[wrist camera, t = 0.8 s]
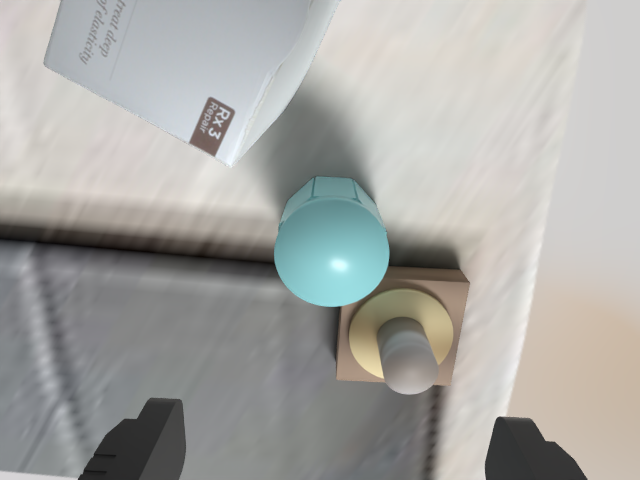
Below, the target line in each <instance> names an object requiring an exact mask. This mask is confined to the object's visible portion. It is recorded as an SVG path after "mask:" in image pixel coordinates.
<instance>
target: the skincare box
mask: <svg viewBox="0 0 640 480" xmlns="http://www.w3.org/2000/svg"><path fill="white" fill-rule="evenodd" d="M340 1H341V0H61V2H60V6H59V9H58V13H57V16H56V20H55V23H54V27H53V30H52V34H51V37H50V41H49V44H48V47H47V51H46V54H45V58H44V65H45V67H47V68H49V69H51V70H53V71H55V72H56V73H58V74H60V75H62V76H63V77H65V78H67V79H69V80H71V81H72V82H74V83H76V84H78V85H80V86H82V87H84V88H86V89H87V90H89V91H91V92H93V93H95V94H97V95H98V96H100V97H102V98H104V99H106V100H108V101H110V102H112V103H114V104H116V105H118V106H120V107H121V108H123V109H125V110H127V111H129V112H131V113H133V114H134V115H136V116H138V117H140V118H142V119H144V120H145V121H147V122H149V123H151V124H153V125H154V126H156V127H158V128H160V129H162V130H163V131H165V132H167V133H169V134H171V135H172V136H174V137H176V138H178V139H180V140H181V141H183V142H185V143H187V144H189V145H190V146H192V147H194V148H196V149H197V150H199V151H201V152H203V153H205V154H206V155H208V156H210V157H212V158H214V159H215V160H217V161H219V162H221V163H222V164H224V165H226V166H228V167H233V166H234V165H235V164H236V163H237V161H238V160H239V159H240V158H241V157H242V156H243V155H244V154H245V153H246V152H247V151H248V150H249V149H250V148H251V146H252V145H253V144H254V143H255V142H256V141H257V140H258V139H259V137H260V136H261V135H262V134H263V133H264V132H265V131H266V130H267V129H268V128H269V127H270V126H271V124H272V123H273V122H274V121H275V120H276V119H277V118H278V117H279V116H280V115H281V114H282V113H283V112H284V110H285V109H286V107H287V106H288V104H289V103H290V101H291V100H292V98H293V96H294V95H295V93H296V91H297V90H298V88H299V86H300V84H301V83H302V81H303V79H304V77H305V75H306V73H307V71H308V69H309V67H310V65H311V63H312V61H313V59H314V57H315V55H316V53H317V50H318V48H319V46H320V44H321V42H322V40H323V37H324V35H325V33H326V31H327V29H328V26H329V24H330V22H331V20H332V17H333V15H334V12H335V10H336V8H337V6H338V4H339V2H340Z"/></svg>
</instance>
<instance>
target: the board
mask: <svg viewBox="0 0 640 480" xmlns="http://www.w3.org/2000/svg"><path fill="white" fill-rule="evenodd" d="M469 285H470V282H469V281H468V279H467V278H466V277H465V275H464V274H463V272H462V271H461V270H456V269H436V268H417V267H397V266H388V267H387V270H386V273H385V275H384V277H383V279H382V280H381V282H380V283H379V285H378V286H377V287H376V288H375V289H374V290H373V291H372V292H371V293H370V294H368V295H367V296H365V297H364V298H362V299H360V300H358V301H357V302H354V303H351V304H348V305H344V306H340V312H339V326H338V340H337V353H336V380H350V381H370V382H386V383H387V385H388V386H389V387H390V388H391V389H393V390H394V391H396V392H399V393H402V394H417V393H420V392H423V391H425V390H427V389H428V388H430V387H431V386H432V385H448V386H450V385H451V380H452V374H453V369H454V364H455V358H456V353H457V348H458V343H459V337H460V332H461V327H462V322H463V316H464V311H465V306H466V301H467V295H468V290H469Z"/></svg>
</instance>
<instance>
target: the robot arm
mask: <svg viewBox="0 0 640 480" xmlns="http://www.w3.org/2000/svg"><path fill="white" fill-rule="evenodd" d="M185 453H186V440H185V427H184V415H183V404H182V401H181V400H180V399H166V398H150V399H149V400H148V401H147V402H146V404H145V406H144V407H143V409H142V411H141V413H140V415H139V416H138V418H137V419H124V420H123V421H121V422H120V423H119V424H118V425H117V426H116V427H114V428H113V429H112V430H111V431H110V432H109V433H107V434H106V435H105V437H104V439H103V440H102V442H101V443H100V445H99V447H98V448H97V450H96V451H95V453H94V456H93V458H91V459H90V461H89V462H88V464H87V466H86V467H85V469H84V472H83V474H81V475H80V477H79V478H78V480H179V477H180V475H181V472H182V469H183V465H184V460H185ZM485 476H486V480H587V478H586V476H585V475H584V473H583V472H582V470H581V469H580V468H579V466H578V465H577V463H576V461H575V460H574V459H573V458H572V457H571V456H570V455H569V454H567V453H566V452H565V451H564V450H563V449H562V448H561V447H560V446H559V445H558V444H556V443H555V442H549V441H545V439H544V438H543V436H542V434H541V433H540V431H539V429H538V428H537V426H536V424H535V423H534V422H533V421H532V420H531V419H530V418H517V417H498V418H497V419H496V421H495V424H494V428H493V432H492V436H491V441H490V445H489V449H488V453H487V457H486V461H485Z"/></svg>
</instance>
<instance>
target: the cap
mask: <svg viewBox="0 0 640 480" xmlns="http://www.w3.org/2000/svg"><path fill="white" fill-rule="evenodd" d="M386 236H387V231H386V228H385V226H384V223H383V221H382V218H381V216H380V213H379V211H378V208H377V206H376V204H375V203H374V202H373V201H372V199H371V198H370V197H369V196H368V195H367V194H366V193H365V192H364V190H363V189H362V188H361V187H360V186H359V185H358V184H357V183H356V181H355V180H354V179H353V180H352V179H351V178H340V177H321V176H316V179H315V178H314V177H313V178H312V179H311V180H310V181H309V182H307V183H306V184H305V185H304V186H303V187H302V188H301V189H300V190H299V191H297V192H296V193H295V194H294V195H293V196H292V197H291V198H290V199H289V200H288V201H287V204H286V207H285V209H284V212H283V215H282V218H281V221H280V224H279V231H278V236H277V239H276V243H275V250H274V257H275V264H276V268H277V271H278V274H279V276H280V277H281V279H282V281H283V282H284V284H285V285H286V286H287V287H288V288H289V290H290V291H292V292H293V293H294V294H295V295H296V296H298V297H300V298H301V299H303V300H305V301H307V302H309V303H312V304H315V305H320V306H327V307H336V306H344V305H348V304H351V303H354V302H357V301H358V300H360V299H362V298H364V297H365V296H367V295H368V294H370V293H371V292H372V291H373V290H374V289H375V288H376V287H377V286H378V285H379V283H380V282H381V280H382V279H383V277H384V275H385V273H386V270H387V267H388V262H389V244H388V240H387V237H386Z"/></svg>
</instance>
